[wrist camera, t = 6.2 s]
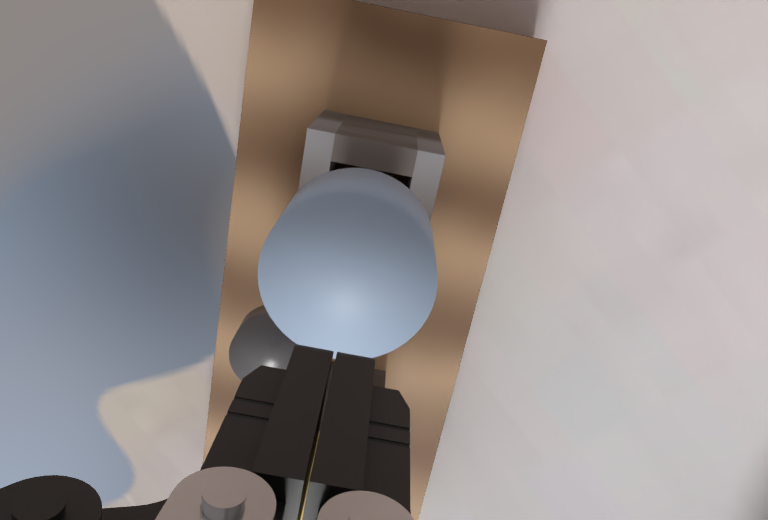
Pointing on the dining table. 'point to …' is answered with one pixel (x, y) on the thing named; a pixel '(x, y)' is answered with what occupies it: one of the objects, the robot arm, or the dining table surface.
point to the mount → (379, 166)
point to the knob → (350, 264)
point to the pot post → (259, 344)
